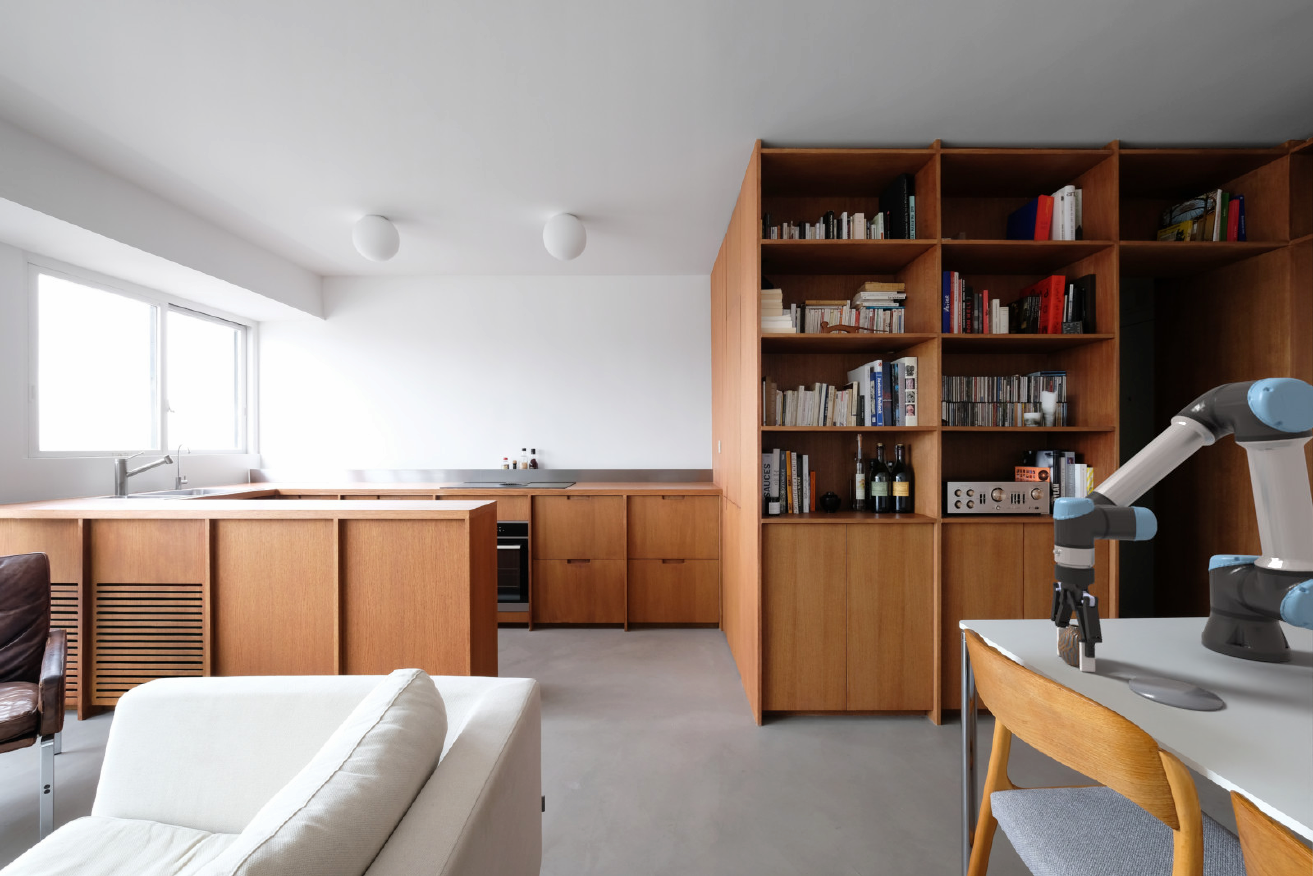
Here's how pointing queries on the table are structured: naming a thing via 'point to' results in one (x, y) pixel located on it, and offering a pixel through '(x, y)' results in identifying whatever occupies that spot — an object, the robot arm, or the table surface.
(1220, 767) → the table surface
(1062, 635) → the vase
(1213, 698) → the disc
